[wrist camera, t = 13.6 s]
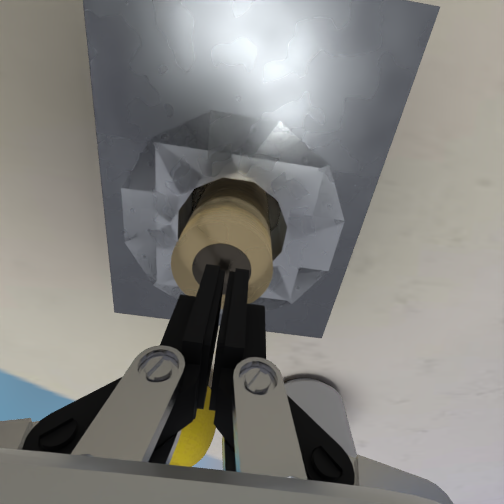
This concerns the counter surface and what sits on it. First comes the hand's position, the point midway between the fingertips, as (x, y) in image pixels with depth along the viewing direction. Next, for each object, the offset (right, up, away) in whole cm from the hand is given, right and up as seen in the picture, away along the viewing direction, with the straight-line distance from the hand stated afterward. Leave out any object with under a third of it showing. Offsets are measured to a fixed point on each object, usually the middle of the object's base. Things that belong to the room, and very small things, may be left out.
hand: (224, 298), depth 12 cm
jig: (0, +7, +7) cm, 10 cm away
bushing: (0, +5, +8) cm, 10 cm away
